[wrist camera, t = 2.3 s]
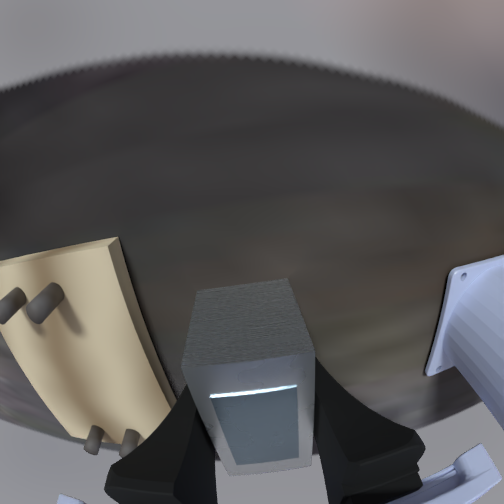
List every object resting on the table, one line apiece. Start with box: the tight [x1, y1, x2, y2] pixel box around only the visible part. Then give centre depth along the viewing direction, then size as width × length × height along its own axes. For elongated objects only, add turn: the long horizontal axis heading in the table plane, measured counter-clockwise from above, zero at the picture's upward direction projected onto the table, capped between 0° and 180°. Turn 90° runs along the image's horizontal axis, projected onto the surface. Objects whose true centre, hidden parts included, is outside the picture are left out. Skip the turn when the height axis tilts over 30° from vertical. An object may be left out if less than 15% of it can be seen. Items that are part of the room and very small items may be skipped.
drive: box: [181, 278, 315, 476], centre depth 12 cm, size 4×8×5 cm, turn 7°
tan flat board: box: [0, 237, 177, 458], centre depth 12 cm, size 10×14×3 cm
